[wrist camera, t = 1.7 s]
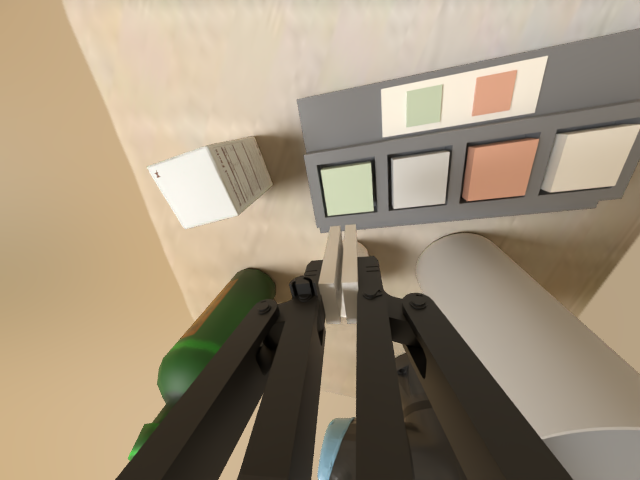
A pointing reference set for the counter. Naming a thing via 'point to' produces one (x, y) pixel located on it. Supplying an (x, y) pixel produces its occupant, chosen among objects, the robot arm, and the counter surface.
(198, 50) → the counter surface
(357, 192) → the key sage
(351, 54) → the counter surface
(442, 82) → the key pad
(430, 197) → the key grey
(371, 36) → the counter surface
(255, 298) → the bottle
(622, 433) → the cylinder vase
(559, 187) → the key white
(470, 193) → the key terracotta
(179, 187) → the supplement box
